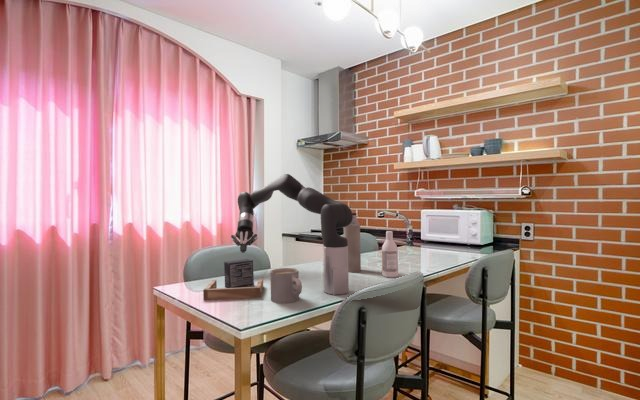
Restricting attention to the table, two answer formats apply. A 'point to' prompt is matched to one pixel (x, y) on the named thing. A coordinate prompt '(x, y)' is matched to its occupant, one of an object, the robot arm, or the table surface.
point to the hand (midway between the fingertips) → (243, 251)
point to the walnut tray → (232, 291)
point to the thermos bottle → (353, 244)
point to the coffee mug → (285, 285)
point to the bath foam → (389, 256)
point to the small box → (238, 273)
